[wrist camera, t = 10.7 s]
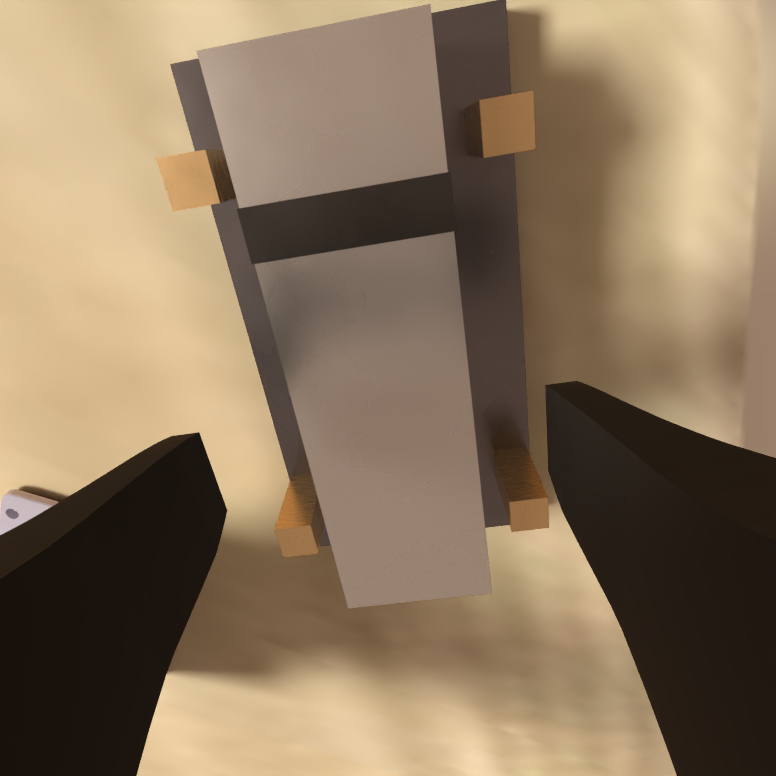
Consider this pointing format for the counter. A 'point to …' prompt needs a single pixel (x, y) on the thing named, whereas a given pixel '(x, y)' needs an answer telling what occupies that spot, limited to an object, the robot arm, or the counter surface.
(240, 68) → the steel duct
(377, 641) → the counter surface
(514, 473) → the grey peg board
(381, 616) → the counter surface
